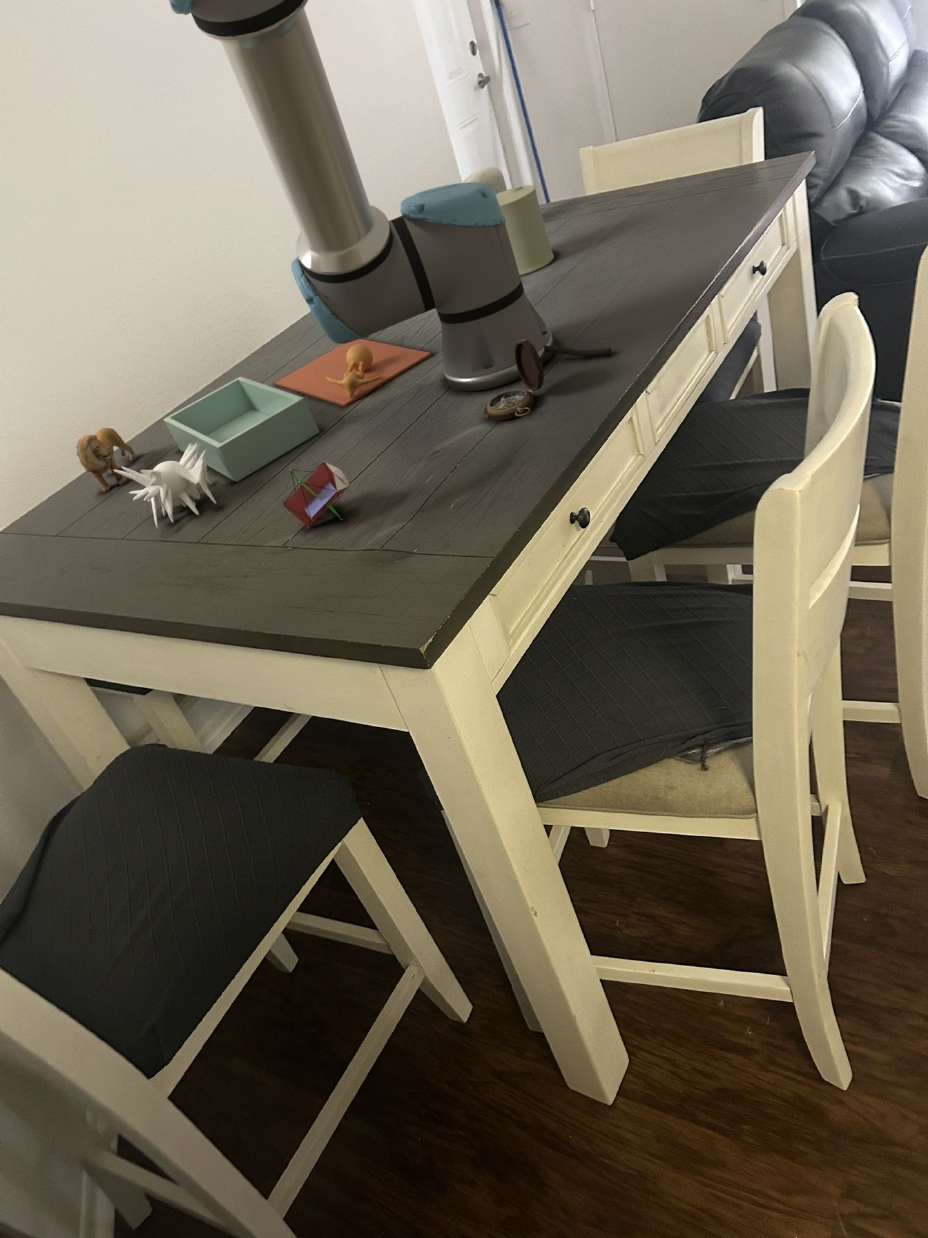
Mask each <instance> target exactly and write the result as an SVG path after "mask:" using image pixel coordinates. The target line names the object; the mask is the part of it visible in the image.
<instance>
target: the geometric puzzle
mask: <svg viewBox="0 0 928 1238" xmlns="http://www.w3.org/2000/svg"><path fill="white" fill-rule="evenodd" d="M317 464H318V462H317V463H316V462H315V465H317ZM313 465H314V463H312V464H311V466H313ZM300 468H303V466H302V467H301V466H300ZM297 469H298V470H297ZM289 472H290V473H289V474H290V475H289V476H288V478H290V476H291V479H292V483H293V490H292V492H291V493H290V494H289V496H288V497H287V499H286V500H284V501H283V502H282V504H281V505H282V507H284V508H285V509H286V510H288V511H289V512H290V513H291V514H293V515H294V516H295V517H296V518H297V519H298V520H300V521H301V522H302V523H303V524H304V525H305V526H306V527H307V528H308V529H310V528H312V527H314V524H315V523H317V521H318V520H320V519H322V517H323V516H324V515H325V514H326V513H327V512H329V511H330V510H331V511H332V512H333V514H335V515H336V516H337V517H338V518H335V520H334V521H331V523H334V522H335V521H336V522H337V521H343V517H344V516H343V515H339V513H340V514H342V512H343V513H344V510H343V511H342V512H341V509H339V513H338V512H337V511H336V509H335V508H334V506H335V505H336V502H340V498H341V497H342V495H344V493H345V491H346V490H347V491H349V489H350V486H351V484H350V483H349V482H348V479H347V477H346V475H345V474H344V472H343V471H342V469H340V468H339V467H337V466H334V465H332V464H330V463H328V462H327V461H325V460H323V461H321V462H319V465H318V466H317V467H316V468H314V469H313V470H311V471H310V470H304V472H308V474H307V475H305V477H303V478H301V477H299V476H298V475H297V474H296V473H295V472H300V470H299V467H297V468H296V469H295V468H294V469H289ZM293 476H294V477H295V479H296V480H297V481H298V483H297V485H296V486H295V480H294V477H293ZM308 476H309V477H308ZM307 477H308V478H307ZM304 479H306V480H305V481H304ZM289 480H290V479H288V480H287V482H289ZM286 485H287V486H286V487H288V484H286ZM299 485H300V486H299ZM298 486H299V487H298ZM297 487H298V488H297ZM287 489H288V488H286V489H285V491H287ZM296 489H297V490H296ZM286 493H287V492H285V495H286ZM348 493H349V492H347V495H348ZM285 498H286V496H284V498H283V499H285ZM347 499H348V497H346V498H345V500H347ZM346 503H347V501H345V503H344V504H346ZM338 507H339V508H341V505H340V503H338ZM343 509H345V506H344V507H343ZM329 523H330V521H329V522H327V524H329ZM325 524H326V523H325V522H324V523H323V525H325ZM320 525H322V524H319V526H320ZM315 526H316V527H317V526H318V524H316V525H315Z"/></svg>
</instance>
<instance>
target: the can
mask: <svg viewBox="0 0 928 1238" xmlns="http://www.w3.org/2000/svg"><path fill="white" fill-rule="evenodd" d="M496 197H497V200H498V203H499V206H500V208H501V211H502V214H503V216H504V217H505V219H506V222H505V225H506V229H507V232H508V236H509V239H510V243H511V246H512V250H513V253H514V257H515V260H516V264H517V267H518V271H519V274H520V276H524V275H526V274H527V275H528V274H530V273H533V272H535V271H538V270H540V269H542V268H544V267H545V266H547V265H548V264H550V263H551V262H552V261H553V260H554V257H555V255H554V253H553V251H552V247H551V244H550V241H549V240H550V239H549V237H548V233H547V230H546V226H545V222H544V217H543V213H542V210H541V207H540V203H539V198H538V194H537V189H536V186H535V185H534V184H525V185H520V186H515V187H512V188H509V189H507V190H506V191H503V192H501V193H498V194H496Z"/></svg>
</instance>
